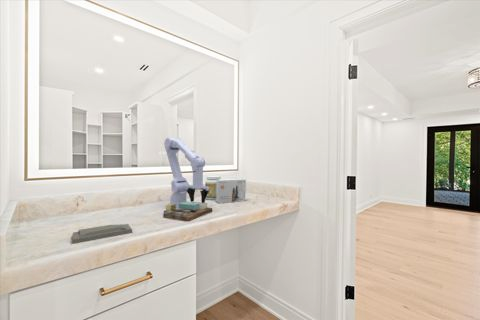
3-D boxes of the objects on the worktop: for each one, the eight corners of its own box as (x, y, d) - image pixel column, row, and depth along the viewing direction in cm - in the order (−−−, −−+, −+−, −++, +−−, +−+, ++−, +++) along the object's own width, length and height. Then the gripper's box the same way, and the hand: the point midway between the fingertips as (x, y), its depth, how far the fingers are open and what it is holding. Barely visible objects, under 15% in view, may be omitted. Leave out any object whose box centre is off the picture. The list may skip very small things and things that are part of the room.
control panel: (163, 217, 114) (163, 210, 114) (189, 208, 134) (189, 202, 134) (188, 221, 107) (188, 214, 107) (212, 211, 127) (212, 205, 127)
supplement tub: (202, 198, 167) (202, 176, 167) (215, 196, 175) (215, 175, 175) (211, 201, 158) (211, 177, 158) (224, 198, 166) (224, 176, 166)
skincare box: (218, 203, 148) (218, 180, 148) (215, 202, 153) (215, 179, 153) (246, 201, 158) (246, 179, 158) (242, 199, 163) (242, 178, 163)
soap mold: (133, 234, 91) (133, 225, 91) (72, 245, 79) (72, 236, 79) (127, 227, 99) (127, 220, 99) (72, 237, 87) (71, 228, 87)
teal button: (178, 208, 120) (178, 203, 120) (184, 206, 125) (184, 201, 125) (193, 209, 116) (193, 205, 116) (199, 208, 121) (199, 203, 121)
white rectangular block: (188, 207, 127) (188, 203, 127) (193, 205, 132) (193, 201, 132) (202, 209, 123) (202, 204, 123) (207, 207, 128) (207, 203, 128)
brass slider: (166, 212, 115) (166, 205, 115) (171, 210, 119) (171, 203, 118) (170, 213, 114) (170, 205, 114) (175, 211, 117) (175, 204, 117)
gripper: (183, 178, 127) (183, 202, 127) (204, 179, 121) (204, 204, 121) (190, 177, 133) (190, 200, 133) (211, 178, 127) (211, 202, 127)
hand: (197, 202), depth 128 cm, fingers open, 7 cm apart
